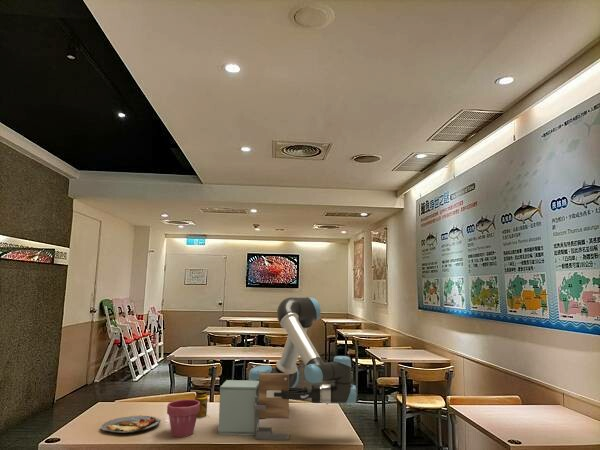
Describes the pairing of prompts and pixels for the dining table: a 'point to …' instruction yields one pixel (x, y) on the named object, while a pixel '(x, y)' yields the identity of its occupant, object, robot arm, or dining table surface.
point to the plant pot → (183, 416)
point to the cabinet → (243, 411)
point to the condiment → (202, 403)
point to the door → (273, 405)
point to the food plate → (130, 424)
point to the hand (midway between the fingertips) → (267, 392)
